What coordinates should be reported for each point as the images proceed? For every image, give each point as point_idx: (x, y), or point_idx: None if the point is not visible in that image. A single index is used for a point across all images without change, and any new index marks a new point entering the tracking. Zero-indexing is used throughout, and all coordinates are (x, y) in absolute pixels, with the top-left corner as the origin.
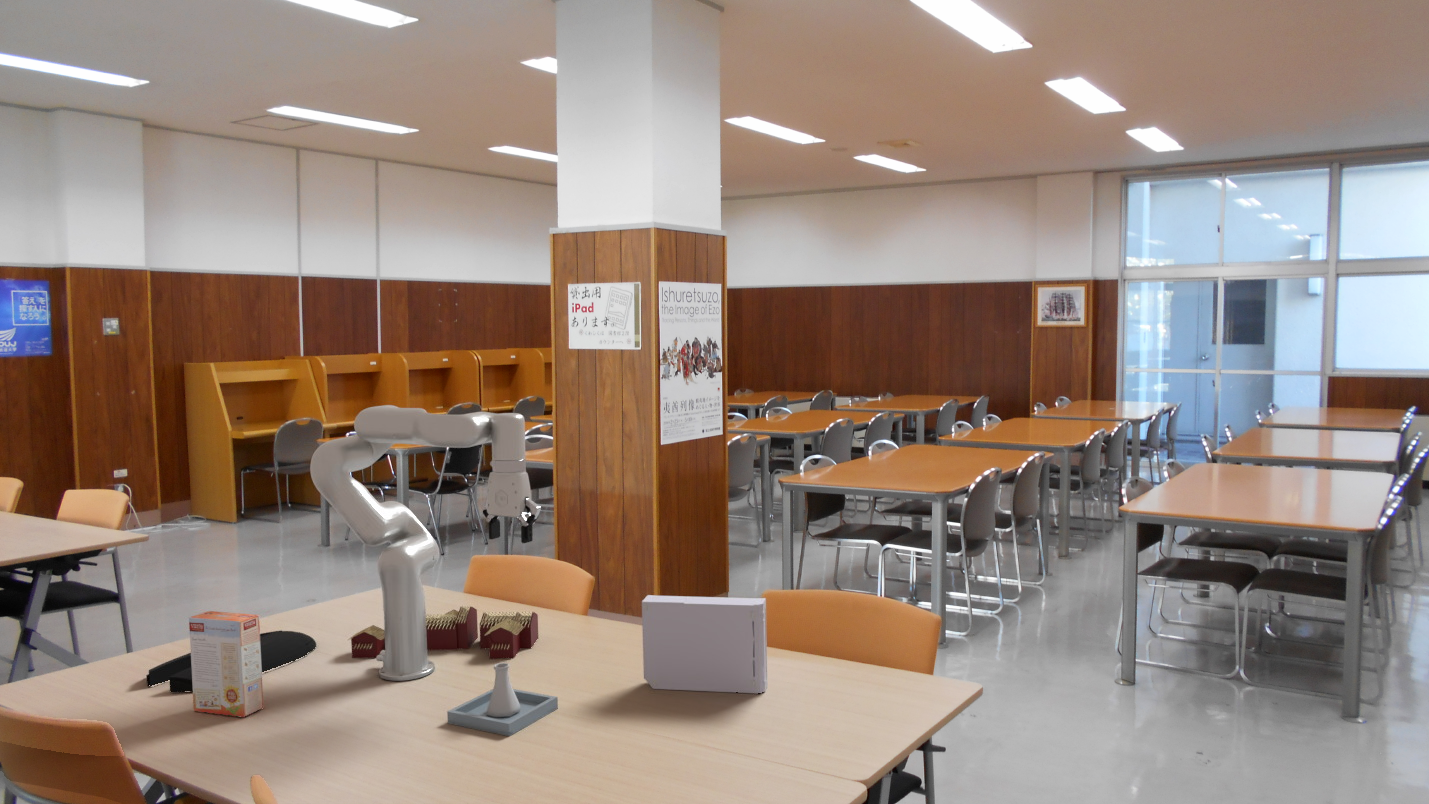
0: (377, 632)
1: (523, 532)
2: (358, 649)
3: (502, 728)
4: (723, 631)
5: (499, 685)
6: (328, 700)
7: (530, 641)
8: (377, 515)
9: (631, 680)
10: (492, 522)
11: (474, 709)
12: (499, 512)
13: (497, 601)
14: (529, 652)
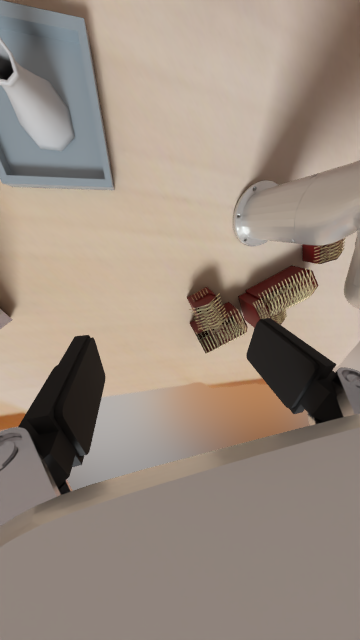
0: (325, 251)
1: (54, 377)
2: None
3: None
4: None
5: (7, 64)
6: (299, 72)
7: (191, 325)
8: None
9: (35, 305)
10: (314, 377)
11: (90, 108)
12: (344, 493)
13: None
14: (184, 314)
